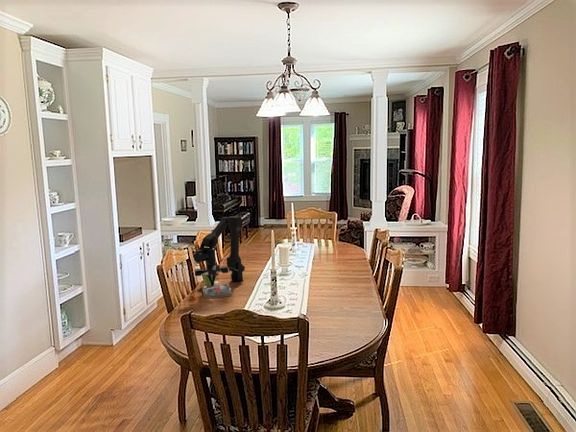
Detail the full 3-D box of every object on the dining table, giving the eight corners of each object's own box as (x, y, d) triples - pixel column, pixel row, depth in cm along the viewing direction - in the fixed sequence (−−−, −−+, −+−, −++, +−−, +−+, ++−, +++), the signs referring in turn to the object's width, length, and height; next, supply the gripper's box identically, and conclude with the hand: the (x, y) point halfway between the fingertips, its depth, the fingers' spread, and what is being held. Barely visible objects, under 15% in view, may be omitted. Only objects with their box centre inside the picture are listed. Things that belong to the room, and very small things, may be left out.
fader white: (218, 286, 264) (218, 281, 263) (219, 287, 260) (218, 282, 260) (214, 286, 263) (214, 281, 263) (215, 288, 260) (214, 283, 259)
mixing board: (228, 286, 268) (228, 281, 267) (232, 295, 250) (231, 290, 250) (202, 289, 264) (201, 285, 264) (204, 298, 247) (203, 293, 247)
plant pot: (202, 288, 266) (201, 274, 265) (201, 284, 275) (200, 270, 274) (218, 286, 268) (217, 272, 267) (217, 282, 277) (216, 268, 276)
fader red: (220, 290, 255) (219, 285, 254) (220, 292, 251) (220, 287, 251) (215, 291, 254) (215, 285, 254) (216, 292, 251) (215, 287, 250)
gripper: (194, 263, 249) (196, 291, 251) (228, 260, 253) (230, 287, 255) (193, 259, 259) (195, 285, 262) (226, 256, 264) (228, 282, 266)
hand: (212, 285), depth 261 cm, fingers closed
